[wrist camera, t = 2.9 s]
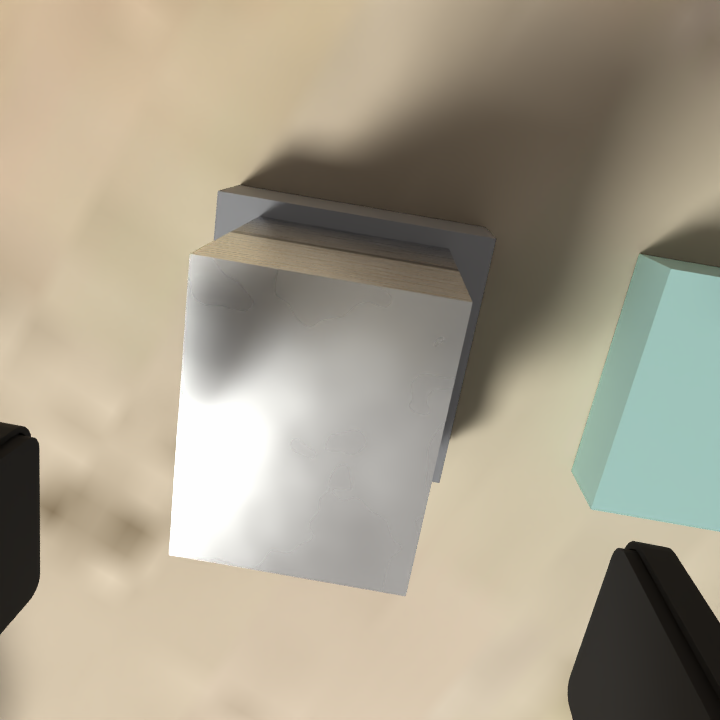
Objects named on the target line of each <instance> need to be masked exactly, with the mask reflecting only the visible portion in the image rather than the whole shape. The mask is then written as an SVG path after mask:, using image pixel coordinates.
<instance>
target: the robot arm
mask: <svg viewBox="0 0 720 720" xmlns="http://www.w3.org/2000/svg"><path fill="white" fill-rule="evenodd" d="M39 579H40V484H39V443H38V441H37V439H36V438H33V437H31V434H30V432H29V430H28V429H27V428H26V427H23V426H18V425H13V424H7V423H2V422H0V634H1V633H2V632H3V631H4V629H5V628H6V627H7V626H8V625H9V624H10V622H11V621H12V620H13V619H14V618H15V617H16V615H17V614H18V613H19V612H20V611H21V610H22V609H23V607H24V606H25V605H26V604H27V603H28V602H29V600H30V599H31V598H32V596H33V595H34V593H35V591H36V588H37V586H38V583H39ZM568 702H569V707H570V710H571V714H572V718H573V720H720V623H719V621H718V620H717V618H716V616H715V615H714V613H713V612H712V610H711V609H710V607H709V606H708V604H707V602H706V601H705V599H704V598H703V596H702V595H701V593H700V592H699V590H698V588H697V587H696V585H695V584H694V582H693V581H692V579H691V578H690V576H689V575H688V573H687V571H686V570H685V568H684V567H683V565H682V564H681V562H680V561H679V559H678V557H677V556H676V554H675V553H674V552H673V551H672V550H671V549H670V548H667V547H662V546H657V545H651V544H646V543H641V542H635V541H632V542H629V543H628V545H627V546H626V547H625V549H622V548H617V549H616V550H615V551H614V553H613V555H612V557H611V560H610V563H609V566H608V569H607V572H606V575H605V578H604V580H603V583H602V586H601V589H600V592H599V595H598V598H597V601H596V603H595V606H594V609H593V612H592V615H591V618H590V621H589V624H588V626H587V629H586V632H585V635H584V638H583V641H582V644H581V647H580V649H579V652H578V655H577V658H576V661H575V664H574V667H573V670H572V672H571V675H570V679H569V683H568Z"/></svg>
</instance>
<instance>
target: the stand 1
mask: <svg viewBox="0 0 720 720" xmlns="http://www.w3.org/2000/svg"><path fill="white" fill-rule="evenodd" d="M259 216H261V217H267V218H273V219H279V220H285V221H290V222H296V223H302V224H308V225H314V226H320V227H325V228H331V229H337V230H343V231H349V232H354V233H360V234H366V235H372V236H378V237H383V238H389V239H395V240H401V241H407V242H413V243H418V244H424V245H430V246H436V247H442V248H447V249H449V250H450V252H451V254H452V257H453V259H454V261H455V263H456V266H457V268H458V270H459V273H460V275H461V277H462V279H463V282H464V284H465V286H466V288H467V291H468V293H469V295H470V298H471V300H472V302H473V303H472V308H471V312H470V316H469V321H468V325H467V330H466V334H465V338H464V343H463V347H462V352H461V356H460V360H459V365H458V369H457V373H456V378H455V382H454V387H453V391H452V395H451V400H450V404H449V408H448V413H447V417H446V422H445V426H444V430H443V435H442V439H441V443H440V448H439V452H438V457H437V461H436V465H435V470H434V474H433V478H432V482H437V483H439V482H440V478H441V474H442V469H443V465H444V461H445V457H446V452H447V448H448V444H449V439H450V435H451V431H452V427H453V422H454V418H455V414H456V409H457V405H458V401H459V397H460V392H461V388H462V384H463V379H464V375H465V371H466V367H467V362H468V358H469V354H470V349H471V345H472V341H473V337H474V332H475V328H476V324H477V319H478V315H479V311H480V307H481V302H482V298H483V294H484V289H485V285H486V281H487V277H488V272H489V268H490V264H491V259H492V255H493V251H494V247H495V242H496V238H495V237H494V236H493V235H492V234H491V233H490V232H489V231H488V230H487V229H486V228H485V227H481V226H475V225H469V224H463V223H458V222H452V221H446V220H440V219H434V218H428V217H423V216H417V215H411V214H405V213H399V212H394V211H388V210H382V209H376V208H370V207H364V206H359V205H353V204H347V203H341V202H335V201H330V200H324V199H318V198H312V197H306V196H300V195H295V194H289V193H283V192H277V191H271V190H265V189H260V188H254V187H248V186H242V185H238V186H234V187H230V188H227V189H223V190H220V191H218V196H217V209H216V221H215V233H214V240H216V239H218V238H220V237H222V236H224V235H225V234H227V233H229V232H231V231H233V230H235V229H237V228H238V227H240V226H242V225H244V224H246V223H248V222H250V221H251V220H253V219H255V218H257V217H259Z"/></svg>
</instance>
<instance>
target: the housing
mask: <svg viewBox="0 0 720 720" xmlns="http://www.w3.org/2000/svg"><path fill="white" fill-rule="evenodd" d="M472 303H473V302H472V300H471V298H470V295H469V293H468V291H467V288H466V286H465V284H464V282H463V279H462V277H461V275H460V273H459V270H458V268H457V266H456V263H455V261H454V259H453V257H452V254H451V252H450V250H449V249H447V248H442V247H436V246H430V245H424V244H418V243H413V242H407V241H401V240H395V239H389V238H383V237H378V236H372V235H366V234H360V233H354V232H349V231H343V230H337V229H331V228H325V227H320V226H314V225H308V224H302V223H296V222H290V221H285V220H279V219H273V218H267V217H261V216H259V217H257V218H255V219H253V220H251V221H250V222H248V223H246V224H244V225H242V226H240V227H238V228H237V229H235V230H233V231H231V232H229V233H227V234H225V235H224V236H222V237H220V238H218V239H216V240H214V241H212V242H211V243H209V244H207V245H205V246H203V247H201V248H199V249H198V250H196V251H194V252H192V253H190V257H189V272H188V286H187V301H186V315H185V330H184V344H183V358H182V373H181V387H180V402H179V416H178V431H177V445H176V460H175V474H174V488H173V503H172V517H171V532H170V546H169V555H173V556H178V557H184V558H190V559H196V560H201V561H207V562H213V563H218V564H224V565H230V566H236V567H241V568H247V569H253V570H258V571H264V572H270V573H276V574H281V575H287V576H293V577H298V578H304V579H310V580H316V581H321V582H327V583H333V584H339V585H344V586H350V587H356V588H361V589H367V590H373V591H379V592H384V593H390V594H396V595H401V596H406V592H407V588H408V584H409V579H410V575H411V570H412V566H413V562H414V557H415V553H416V549H417V544H418V540H419V535H420V531H421V527H422V522H423V518H424V514H425V509H426V505H427V500H428V496H429V492H430V487H431V483H432V478H433V474H434V470H435V465H436V461H437V457H438V452H439V448H440V443H441V439H442V435H443V430H444V426H445V422H446V417H447V413H448V408H449V404H450V400H451V395H452V391H453V387H454V382H455V378H456V373H457V369H458V365H459V360H460V356H461V352H462V347H463V343H464V338H465V334H466V330H467V325H468V321H469V316H470V312H471V308H472Z"/></svg>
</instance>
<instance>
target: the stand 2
mask: <svg viewBox="0 0 720 720" xmlns="http://www.w3.org/2000/svg"><path fill="white" fill-rule="evenodd" d="M572 473H573V475H574V477H575V479H576V481H577V483H578V485H579V487H580V489H581V491H582V493H583V495H584V497H585V499H586V501H587V502H588V504H589V506H590V508H591V509H592V510H598V511H604V512H610V513H615V514H621V515H627V516H633V517H638V518H644V519H650V520H656V521H661V522H667V523H673V524H679V525H684V526H690V527H696V528H702V529H707V530H713V531H719V532H720V267H714V266H708V265H702V264H696V263H690V262H685V261H679V260H673V259H667V258H661V257H655V256H650V255H644V254H639V256H638V260H637V263H636V266H635V269H634V272H633V276H632V279H631V282H630V285H629V288H628V292H627V295H626V298H625V301H624V304H623V308H622V311H621V314H620V317H619V320H618V324H617V327H616V330H615V333H614V336H613V340H612V343H611V346H610V349H609V352H608V356H607V359H606V362H605V365H604V368H603V372H602V375H601V378H600V381H599V384H598V388H597V391H596V394H595V397H594V400H593V404H592V407H591V410H590V413H589V416H588V420H587V423H586V426H585V429H584V432H583V436H582V439H581V442H580V445H579V448H578V452H577V455H576V458H575V461H574V464H573V468H572Z"/></svg>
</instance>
